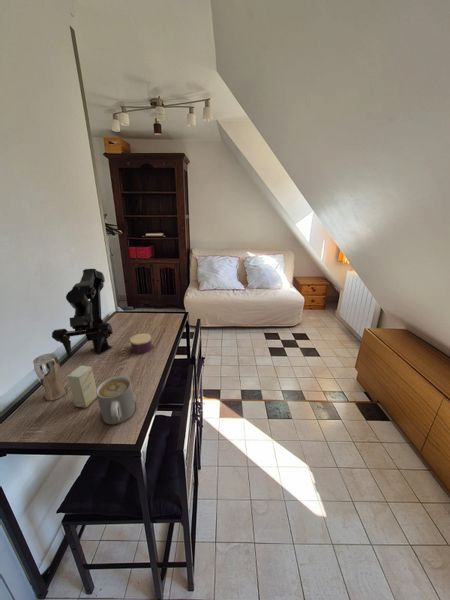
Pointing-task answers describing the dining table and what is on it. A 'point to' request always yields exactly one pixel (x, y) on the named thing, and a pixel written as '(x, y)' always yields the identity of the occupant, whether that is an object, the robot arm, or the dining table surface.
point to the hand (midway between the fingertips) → (83, 354)
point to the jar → (141, 343)
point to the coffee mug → (116, 400)
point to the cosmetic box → (82, 386)
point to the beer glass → (49, 375)
